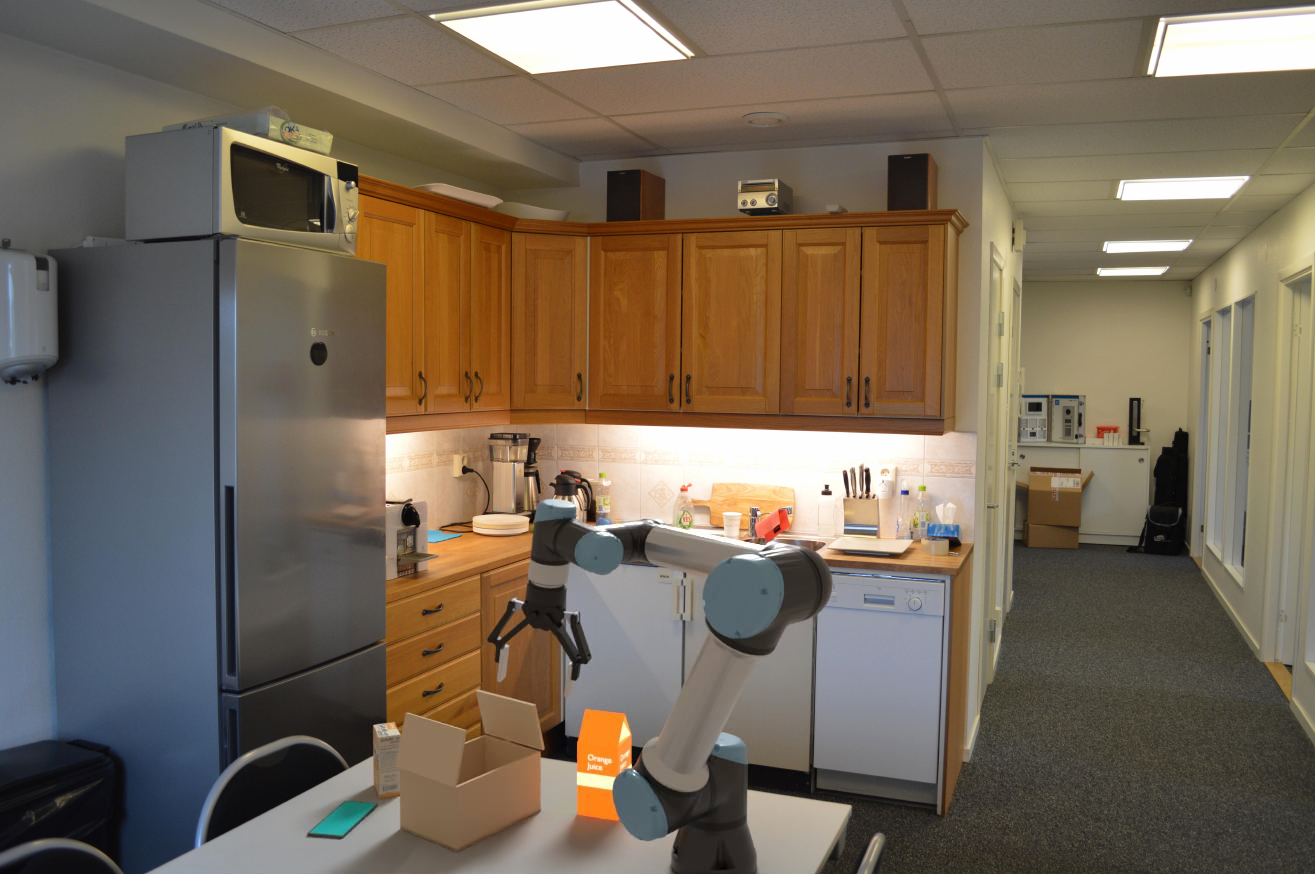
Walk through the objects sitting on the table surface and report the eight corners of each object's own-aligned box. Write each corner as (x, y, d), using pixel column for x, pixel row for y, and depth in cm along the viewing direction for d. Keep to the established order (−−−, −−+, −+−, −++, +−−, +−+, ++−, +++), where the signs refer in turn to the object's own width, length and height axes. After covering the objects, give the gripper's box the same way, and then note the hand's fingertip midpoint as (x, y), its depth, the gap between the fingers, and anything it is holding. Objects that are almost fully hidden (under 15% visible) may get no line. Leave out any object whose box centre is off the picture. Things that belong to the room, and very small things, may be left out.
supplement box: (372, 784, 199) (371, 724, 199) (395, 781, 201) (395, 721, 201) (378, 799, 192) (377, 736, 191) (402, 795, 194) (401, 733, 193)
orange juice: (617, 820, 182) (618, 719, 181) (576, 814, 185) (576, 714, 184) (631, 804, 189) (632, 707, 189) (591, 798, 192) (591, 703, 192)
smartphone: (306, 833, 175) (345, 800, 190) (306, 837, 175) (345, 804, 190) (343, 836, 174) (379, 802, 189) (343, 841, 174) (379, 807, 189)
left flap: (466, 730, 170) (464, 730, 169) (456, 787, 168) (453, 787, 168) (408, 712, 180) (405, 712, 179) (397, 766, 178) (395, 766, 177)
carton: (540, 810, 187) (540, 751, 186) (456, 852, 169) (456, 787, 169) (485, 790, 196) (485, 734, 196) (400, 828, 178) (399, 766, 178)
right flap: (542, 750, 186) (544, 748, 187) (533, 705, 184) (535, 704, 184) (485, 732, 196) (487, 731, 197) (475, 690, 194) (477, 689, 194)
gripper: (616, 588, 176) (601, 693, 179) (493, 563, 181) (481, 665, 184) (605, 600, 169) (590, 709, 172) (477, 573, 174) (465, 679, 177)
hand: (534, 686), depth 178 cm, fingers open, 13 cm apart
